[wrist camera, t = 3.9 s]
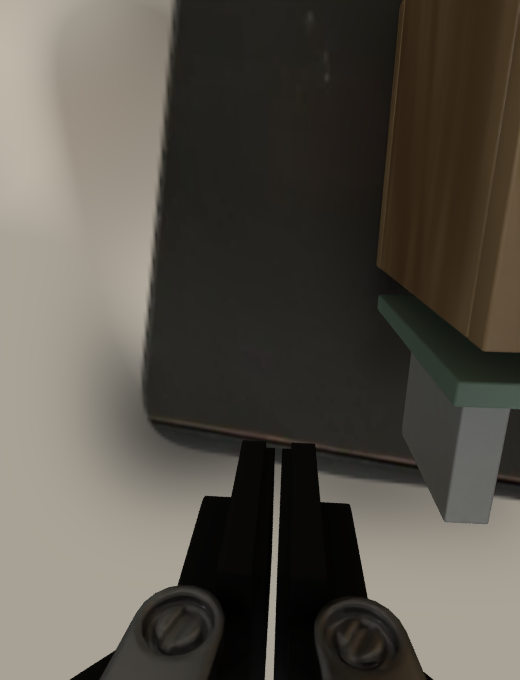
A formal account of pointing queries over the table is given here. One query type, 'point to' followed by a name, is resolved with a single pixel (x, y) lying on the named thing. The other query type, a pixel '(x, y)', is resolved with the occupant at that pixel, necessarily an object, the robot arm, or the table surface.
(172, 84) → the table surface
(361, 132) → the table surface
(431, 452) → the sliding door
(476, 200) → the cabinet
